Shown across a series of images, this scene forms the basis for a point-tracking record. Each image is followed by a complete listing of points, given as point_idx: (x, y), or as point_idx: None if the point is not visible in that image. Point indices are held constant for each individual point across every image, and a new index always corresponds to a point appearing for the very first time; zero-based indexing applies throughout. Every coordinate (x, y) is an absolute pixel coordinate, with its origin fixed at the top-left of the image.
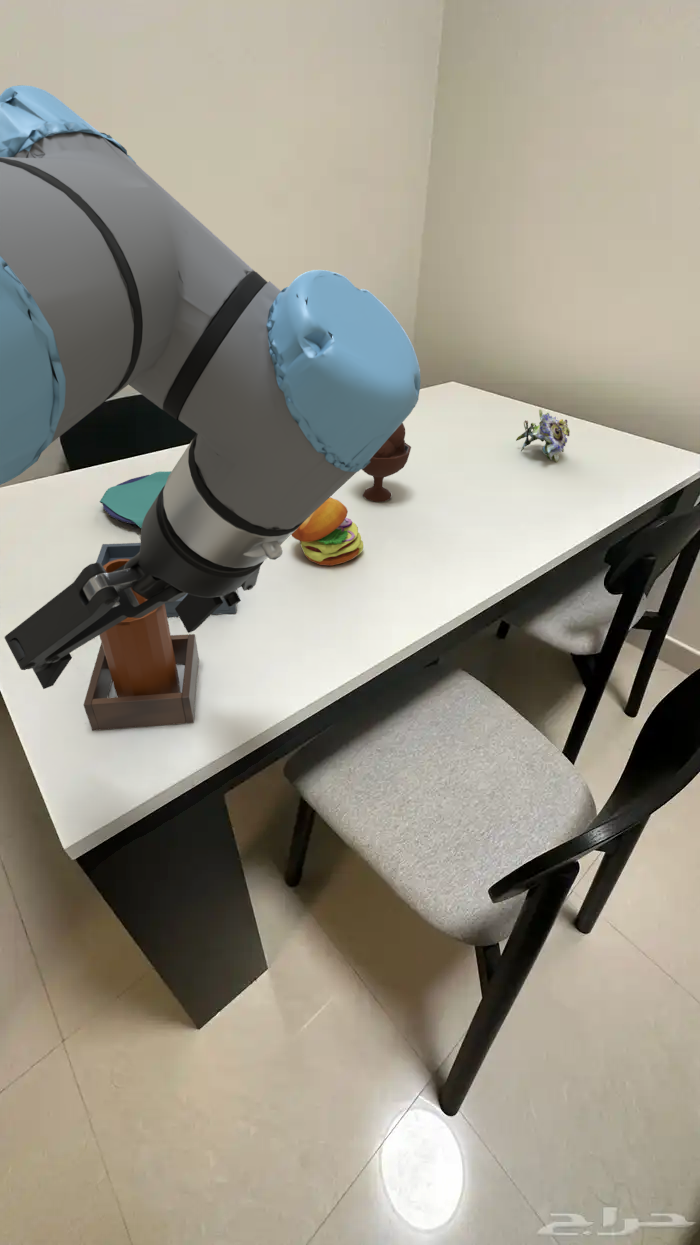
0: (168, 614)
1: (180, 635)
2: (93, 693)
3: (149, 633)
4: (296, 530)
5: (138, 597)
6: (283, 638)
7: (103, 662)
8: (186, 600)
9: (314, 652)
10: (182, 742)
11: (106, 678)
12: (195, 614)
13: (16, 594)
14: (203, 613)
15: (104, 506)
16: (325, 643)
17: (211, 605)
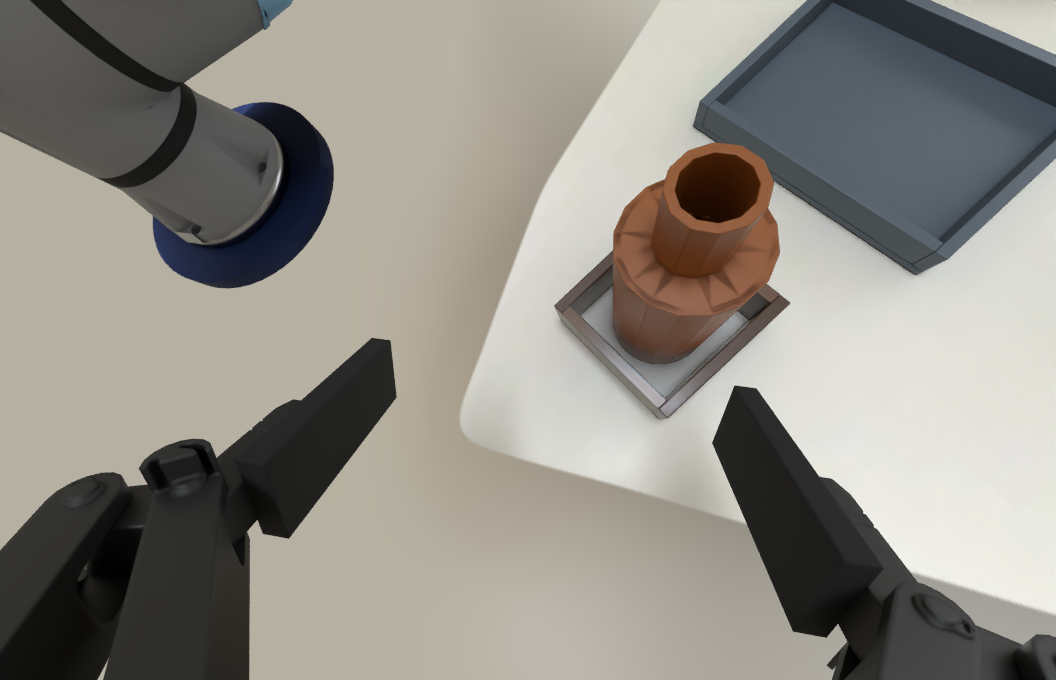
0: (805, 197)
1: (766, 286)
2: (577, 297)
3: (675, 328)
4: None
5: (706, 266)
6: (939, 399)
7: None
8: (760, 442)
9: (961, 480)
10: (623, 433)
11: None
12: (745, 484)
13: (660, 15)
14: (755, 531)
15: None
16: (1008, 483)
17: (784, 592)
